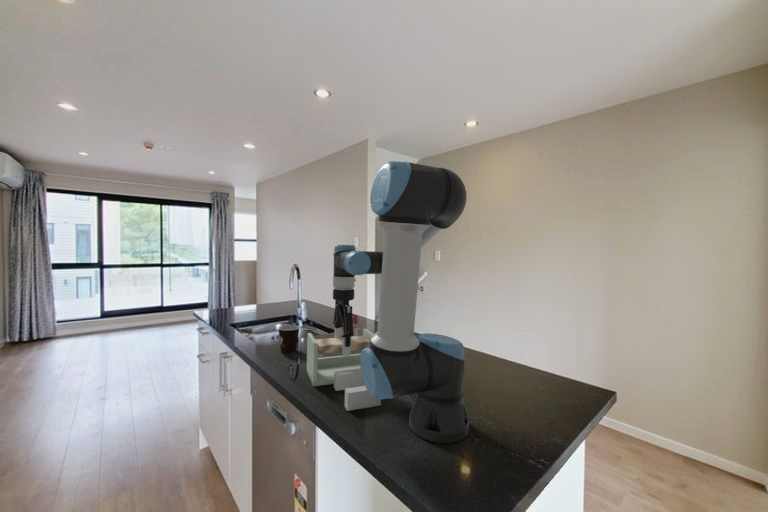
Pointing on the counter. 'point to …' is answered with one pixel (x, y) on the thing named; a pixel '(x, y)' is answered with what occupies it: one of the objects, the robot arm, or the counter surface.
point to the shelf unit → (329, 362)
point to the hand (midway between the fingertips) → (342, 350)
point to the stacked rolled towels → (341, 344)
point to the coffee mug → (288, 338)
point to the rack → (354, 389)
